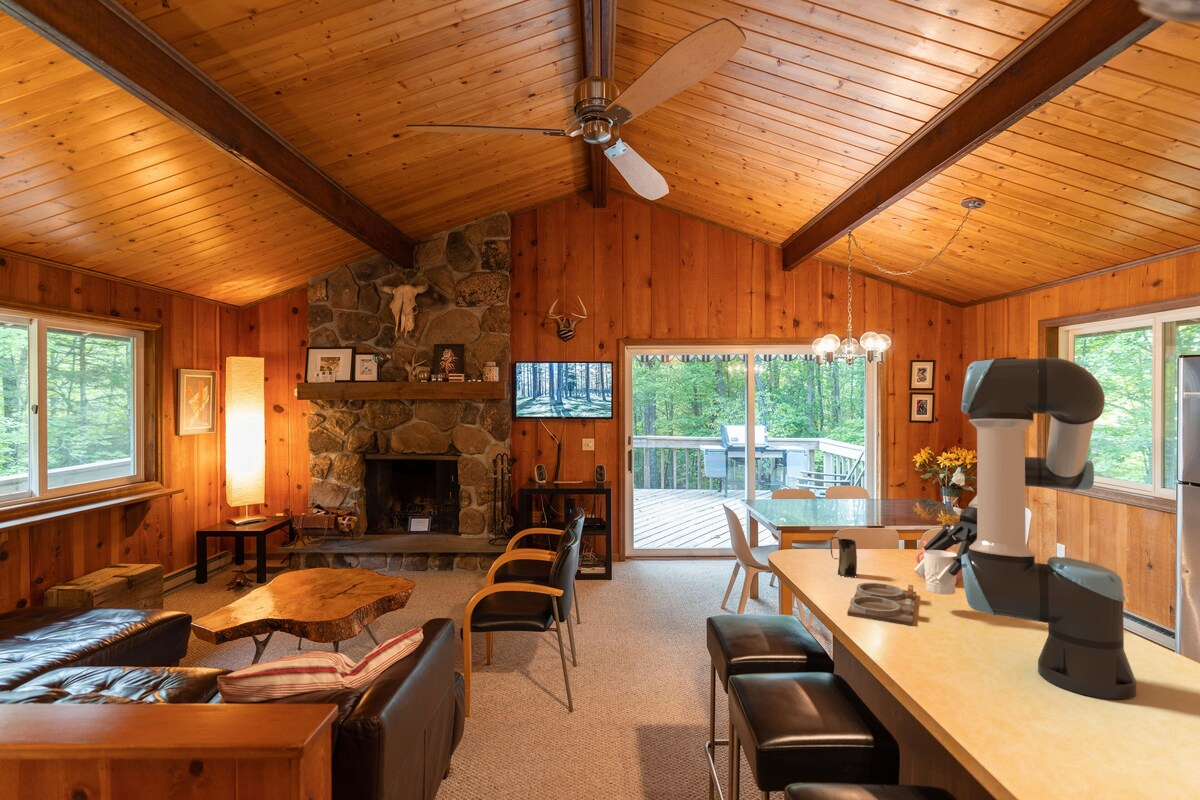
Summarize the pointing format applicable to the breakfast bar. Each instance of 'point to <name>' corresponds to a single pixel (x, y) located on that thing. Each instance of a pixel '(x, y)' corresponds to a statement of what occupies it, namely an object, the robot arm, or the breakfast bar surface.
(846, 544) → the mug
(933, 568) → the white cup
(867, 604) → the board
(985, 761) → the breakfast bar surface
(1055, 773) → the breakfast bar surface
